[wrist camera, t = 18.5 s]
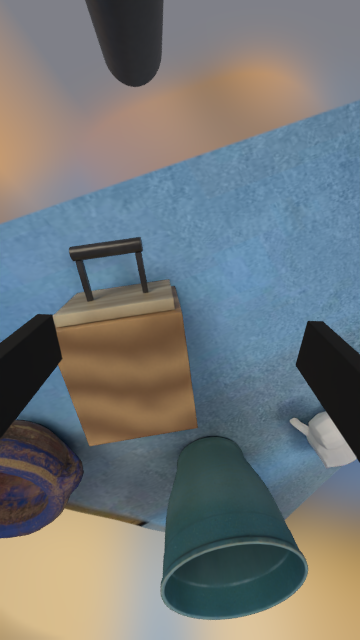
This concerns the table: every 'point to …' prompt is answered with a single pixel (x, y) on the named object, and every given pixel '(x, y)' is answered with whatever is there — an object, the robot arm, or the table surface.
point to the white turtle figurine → (326, 440)
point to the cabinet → (129, 376)
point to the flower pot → (225, 538)
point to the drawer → (113, 289)
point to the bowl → (34, 478)
